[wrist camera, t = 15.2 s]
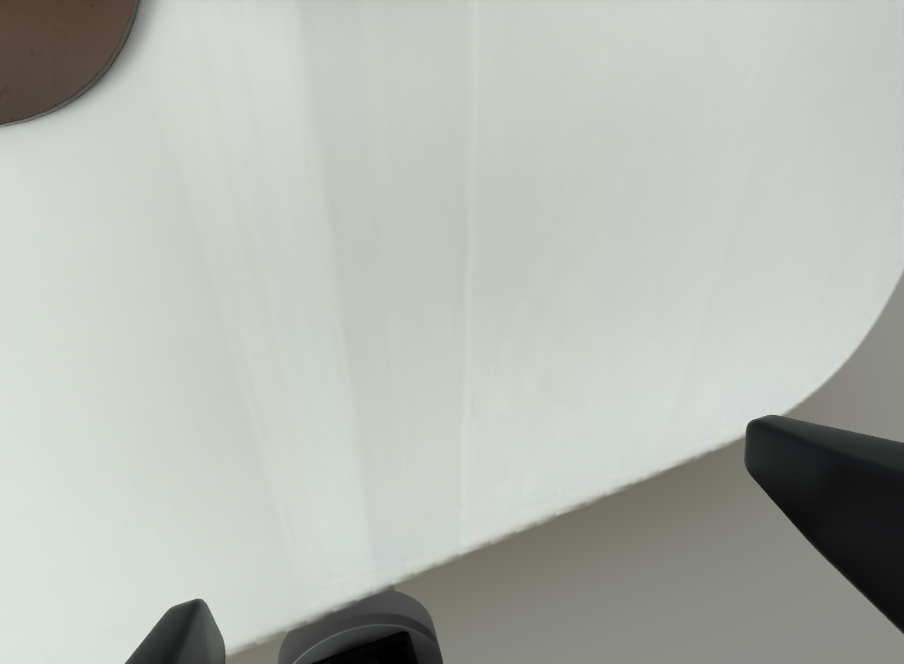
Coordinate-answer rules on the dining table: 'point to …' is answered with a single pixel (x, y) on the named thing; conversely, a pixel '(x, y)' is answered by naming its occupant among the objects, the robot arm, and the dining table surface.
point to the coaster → (56, 51)
